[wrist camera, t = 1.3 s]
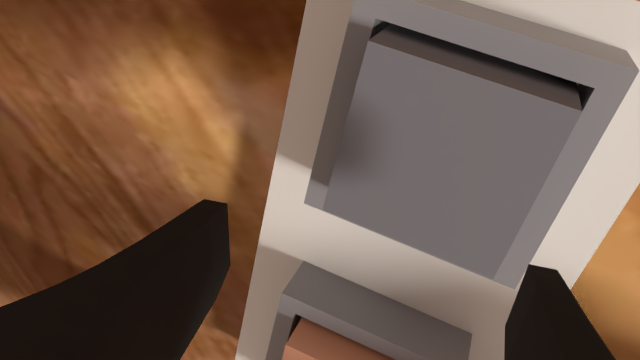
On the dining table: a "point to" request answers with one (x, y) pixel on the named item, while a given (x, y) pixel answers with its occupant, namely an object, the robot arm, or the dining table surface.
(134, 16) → the dining table surface
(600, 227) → the button panel
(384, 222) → the charcoal key
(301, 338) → the terracotta key
